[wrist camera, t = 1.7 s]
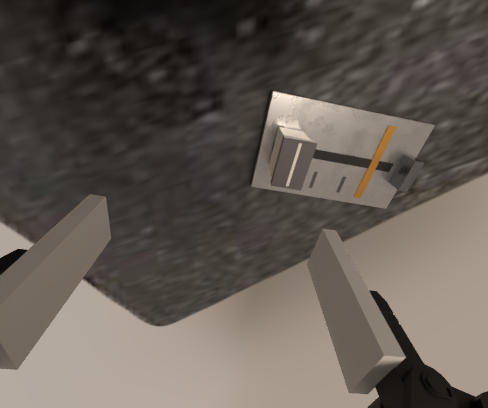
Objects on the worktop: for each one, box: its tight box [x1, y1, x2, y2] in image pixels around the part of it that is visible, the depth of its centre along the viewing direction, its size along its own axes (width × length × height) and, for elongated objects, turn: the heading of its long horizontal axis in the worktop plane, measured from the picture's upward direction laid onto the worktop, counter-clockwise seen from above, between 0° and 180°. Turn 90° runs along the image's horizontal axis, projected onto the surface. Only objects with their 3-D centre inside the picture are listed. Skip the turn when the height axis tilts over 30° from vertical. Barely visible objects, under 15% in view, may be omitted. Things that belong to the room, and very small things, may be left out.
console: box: [251, 90, 435, 208], centre depth 30 cm, size 12×20×4 cm, turn 79°
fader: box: [269, 127, 318, 191], centre depth 27 cm, size 5×3×5 cm, turn 169°
